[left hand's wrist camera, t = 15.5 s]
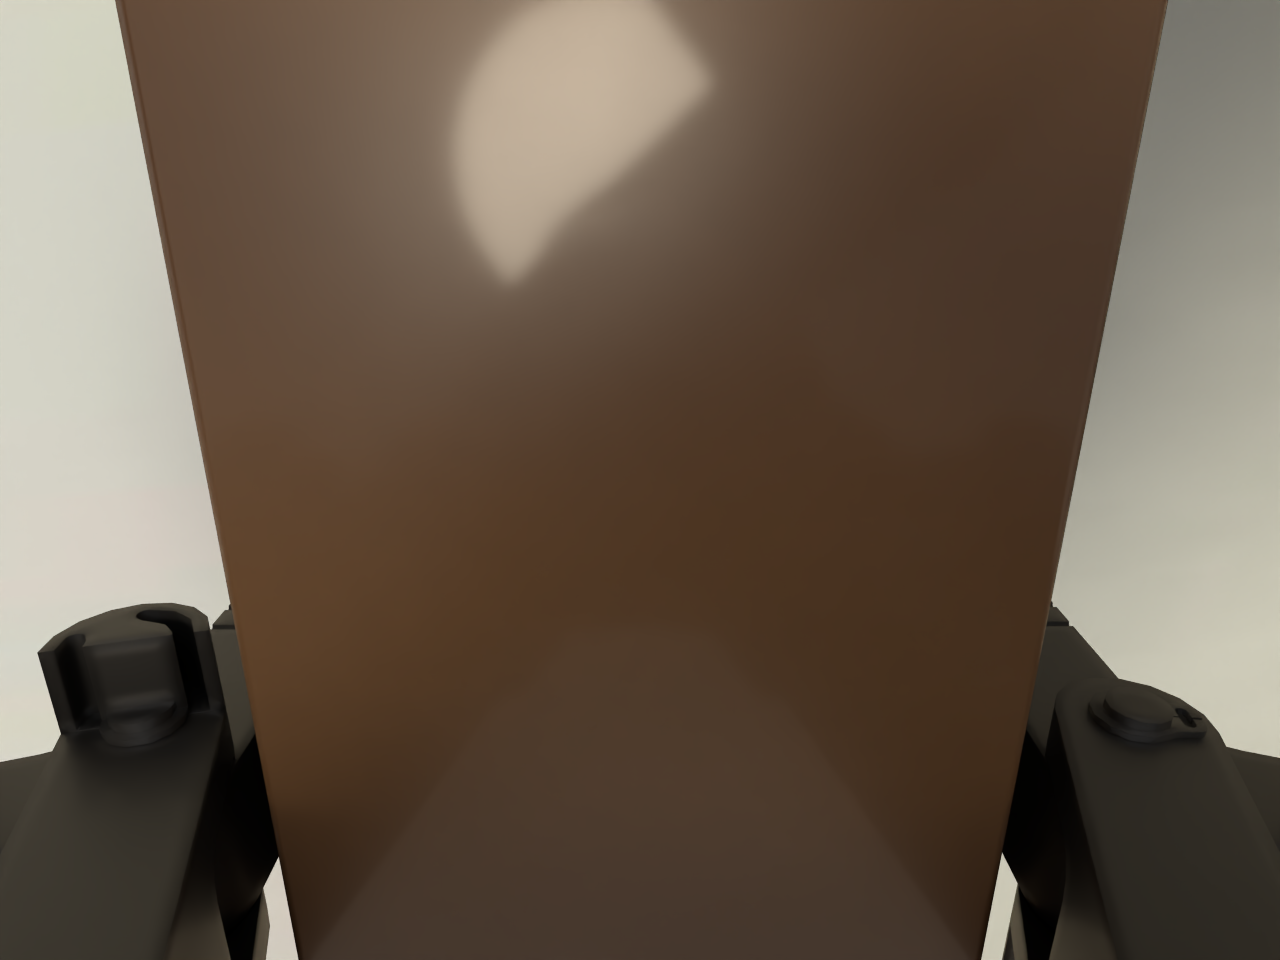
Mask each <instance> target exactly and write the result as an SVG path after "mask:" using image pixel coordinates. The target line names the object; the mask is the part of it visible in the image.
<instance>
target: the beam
mask: <svg viewBox="0 0 1280 960" xmlns="http://www.w3.org/2000/svg"><path fill="white" fill-rule="evenodd" d="M115 2H116V7H117V12H118V17H119V23H120V28H121V33H122V38H123V44H124V49H125V54H126V59H127V64H128V70H129V75H130V80H131V85H132V91H133V96H134V101H135V106H136V112H137V117H138V122H139V127H140V132H141V138H142V143H143V148H144V153H145V159H146V164H147V169H148V174H149V180H150V185H151V190H152V195H153V200H154V206H155V211H156V216H157V221H158V227H159V232H160V237H161V242H162V248H163V253H164V258H165V263H166V268H167V274H168V279H169V284H170V289H171V295H172V300H173V305H174V310H175V316H176V321H177V326H178V331H179V336H180V342H181V347H182V352H183V357H184V363H185V368H186V373H187V378H188V384H189V389H190V394H191V399H192V405H193V410H194V415H195V420H196V425H197V431H198V436H199V441H200V446H201V452H202V457H203V462H204V467H205V473H206V478H207V483H208V488H209V493H210V499H211V504H212V509H213V514H214V520H215V525H216V530H217V535H218V541H219V546H220V551H221V556H222V561H223V567H224V572H225V577H226V582H227V588H228V593H229V598H230V603H231V609H232V614H233V619H234V624H235V629H236V635H237V640H238V645H239V650H240V656H241V661H242V666H243V671H244V677H245V682H246V687H247V692H248V697H249V703H250V708H251V713H252V718H253V724H254V729H255V734H256V739H257V745H258V750H259V755H260V760H261V765H262V771H263V776H264V781H265V786H266V792H267V797H268V802H269V807H270V813H271V818H272V823H273V828H274V834H275V839H276V844H277V849H278V854H279V860H280V865H281V870H282V875H283V881H284V886H285V891H286V896H287V902H288V907H289V912H290V917H291V922H292V928H293V933H294V938H295V943H296V949H297V954H298V959H299V960H981V957H982V952H983V947H984V942H985V937H986V932H987V927H988V922H989V916H990V911H991V906H992V901H993V896H994V891H995V886H996V880H997V875H998V870H999V865H1000V860H1001V855H1002V850H1003V845H1004V839H1005V834H1006V829H1007V824H1008V819H1009V814H1010V809H1011V804H1012V798H1013V793H1014V788H1015V783H1016V778H1017V773H1018V768H1019V762H1020V757H1021V752H1022V747H1023V742H1024V737H1025V732H1026V727H1027V721H1028V716H1029V711H1030V706H1031V701H1032V696H1033V691H1034V686H1035V680H1036V675H1037V670H1038V665H1039V660H1040V655H1041V650H1042V644H1043V639H1044V634H1045V629H1046V624H1047V619H1048V614H1049V609H1050V603H1051V598H1052V593H1053V588H1054V583H1055V578H1056V573H1057V567H1058V562H1059V557H1060V552H1061V547H1062V542H1063V537H1064V532H1065V526H1066V521H1067V516H1068V511H1069V506H1070V501H1071V496H1072V491H1073V485H1074V480H1075V475H1076V470H1077V465H1078V460H1079V455H1080V449H1081V444H1082V439H1083V434H1084V429H1085V424H1086V419H1087V414H1088V408H1089V403H1090V398H1091V393H1092V388H1093V383H1094V378H1095V373H1096V367H1097V362H1098V357H1099V352H1100V347H1101V342H1102V337H1103V331H1104V326H1105V321H1106V316H1107V311H1108V306H1109V301H1110V296H1111V290H1112V285H1113V280H1114V275H1115V270H1116V265H1117V260H1118V255H1119V249H1120V244H1121V239H1122V234H1123V229H1124V224H1125V219H1126V213H1127V208H1128V203H1129V198H1130V193H1131V188H1132V183H1133V178H1134V172H1135V167H1136V162H1137V157H1138V152H1139V147H1140V142H1141V136H1142V131H1143V126H1144V121H1145V116H1146V111H1147V106H1148V101H1149V95H1150V90H1151V85H1152V80H1153V75H1154V70H1155V65H1156V60H1157V54H1158V49H1159V44H1160V39H1161V34H1162V29H1163V24H1164V18H1165V13H1166V8H1167V3H1168V0H115Z"/></svg>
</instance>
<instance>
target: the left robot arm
mask: <svg viewBox="0 0 1280 960" xmlns="http://www.w3.org/2000/svg"><path fill="white" fill-rule="evenodd" d="M1052 604H1053V603H1052V601H1051V603H1050V609H1049V614H1048V619H1047V624H1046V629H1045V634H1044V639H1043V644H1042V650H1041V655H1040V660H1039V665H1038V670H1037V675H1036V680H1035V686H1034V691H1033V696H1032V701H1031V706H1030V711H1029V716H1028V721H1027V727H1026V732H1025V737H1024V742H1023V747H1022V752H1021V757H1020V762H1019V768H1018V773H1017V778H1016V783H1015V788H1014V793H1013V798H1012V804H1011V809H1010V814H1009V819H1008V824H1007V829H1006V834H1005V839H1004V845H1003V850H1002V853H1003V855H1004V857H1005V859H1006V861H1007V863H1008V865H1009V867H1010V869H1011V871H1012V873H1013V875H1014V877H1015V879H1016V881H1017V883H1018V885H1017V890H1016V894H1015V899H1014V904H1013V909H1012V914H1011V919H1010V924H1009V929H1008V933H1007V938H1006V943H1005V948H1004V953H1003V958H1002V960H1280V758H1277V757H1272V756H1267V755H1261V754H1256V753H1251V752H1246V751H1241V750H1237V749H1233V748H1229V747H1226V745H1225V743H1224V742H1223V740H1222V738H1221V736H1220V734H1219V732H1218V731H1217V730H1216V729H1215V727H1214V726H1213V725H1212V724H1211V723H1210V721H1209V720H1208V719H1207V718H1206V717H1205V715H1204V714H1202V713H1201V712H1199V711H1198V710H1196V709H1195V708H1193V707H1192V706H1190V705H1189V704H1187V703H1186V702H1184V701H1183V700H1181V699H1180V698H1177V697H1175V696H1173V695H1170V694H1168V693H1165V692H1163V691H1161V690H1158V689H1156V688H1154V687H1151V686H1148V685H1143V684H1139V683H1135V682H1131V681H1126V680H1122V679H1118V678H1117V676H1116V675H1115V674H1114V673H1113V672H1112V671H1111V669H1110V668H1109V667H1108V666H1107V665H1106V664H1105V663H1104V661H1103V660H1102V659H1101V658H1100V657H1099V656H1098V654H1097V653H1096V652H1095V651H1094V650H1093V649H1092V648H1091V646H1090V645H1089V644H1088V643H1087V642H1086V641H1085V639H1084V638H1083V637H1082V636H1081V635H1080V634H1079V633H1078V631H1077V630H1076V629H1075V628H1074V627H1073V626H1069V621H1068V620H1067V619H1066V618H1065V616H1064V615H1063V614H1062V613H1061V612H1060V611H1059V609H1058V608H1057V607H1053V605H1052ZM38 656H39V660H40V663H41V667H42V670H43V674H44V677H45V680H46V684H47V687H48V691H49V694H50V698H51V701H52V704H53V708H54V711H55V715H56V718H57V722H58V725H59V729H60V732H61V735H60V737H59V739H58V741H57V743H56V745H55V747H54V749H53V751H52V752H48V753H44V754H40V755H35V756H30V757H25V758H19V759H14V760H9V761H4V762H0V960H266V953H267V945H268V937H269V929H270V923H269V916H268V910H267V904H266V899H265V894H264V890H263V887H264V885H265V883H266V881H267V879H268V877H269V875H270V873H271V871H272V869H273V867H274V865H275V863H276V861H277V859H278V857H279V854H278V849H277V844H276V839H275V834H274V828H273V823H272V818H271V813H270V807H269V802H268V797H267V792H266V786H265V781H264V776H263V771H262V765H261V760H260V755H259V750H258V745H257V739H256V734H255V729H254V724H253V718H252V713H251V708H250V703H249V697H248V692H247V687H246V682H245V677H244V671H243V666H242V661H241V656H240V650H239V645H238V640H237V635H236V629H235V624H234V619H233V614H232V609H231V604H230V605H229V610H225V611H224V612H223V613H222V614H221V615H220V617H219V618H218V619H217V620H216V621H215V622H214V624H213V628H212V630H210V627H209V622H208V617H207V616H206V615H205V614H203V613H202V612H200V611H199V610H197V609H196V608H195V607H191V606H185V605H180V604H175V603H156V604H140V605H135V606H130V607H125V608H120V609H115V610H111V611H108V612H105V613H102V614H99V615H97V616H94V617H91V618H88V619H85V620H83V621H80V622H78V623H76V624H75V625H73V626H71V627H69V628H67V629H66V630H64V631H62V632H60V633H59V634H57V635H55V636H54V637H53V638H52V639H51V640H50V641H49V642H48V643H47V644H46V645H45V646H44V647H43V648H42V649H41V650H40V651H39V652H38Z"/></svg>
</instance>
